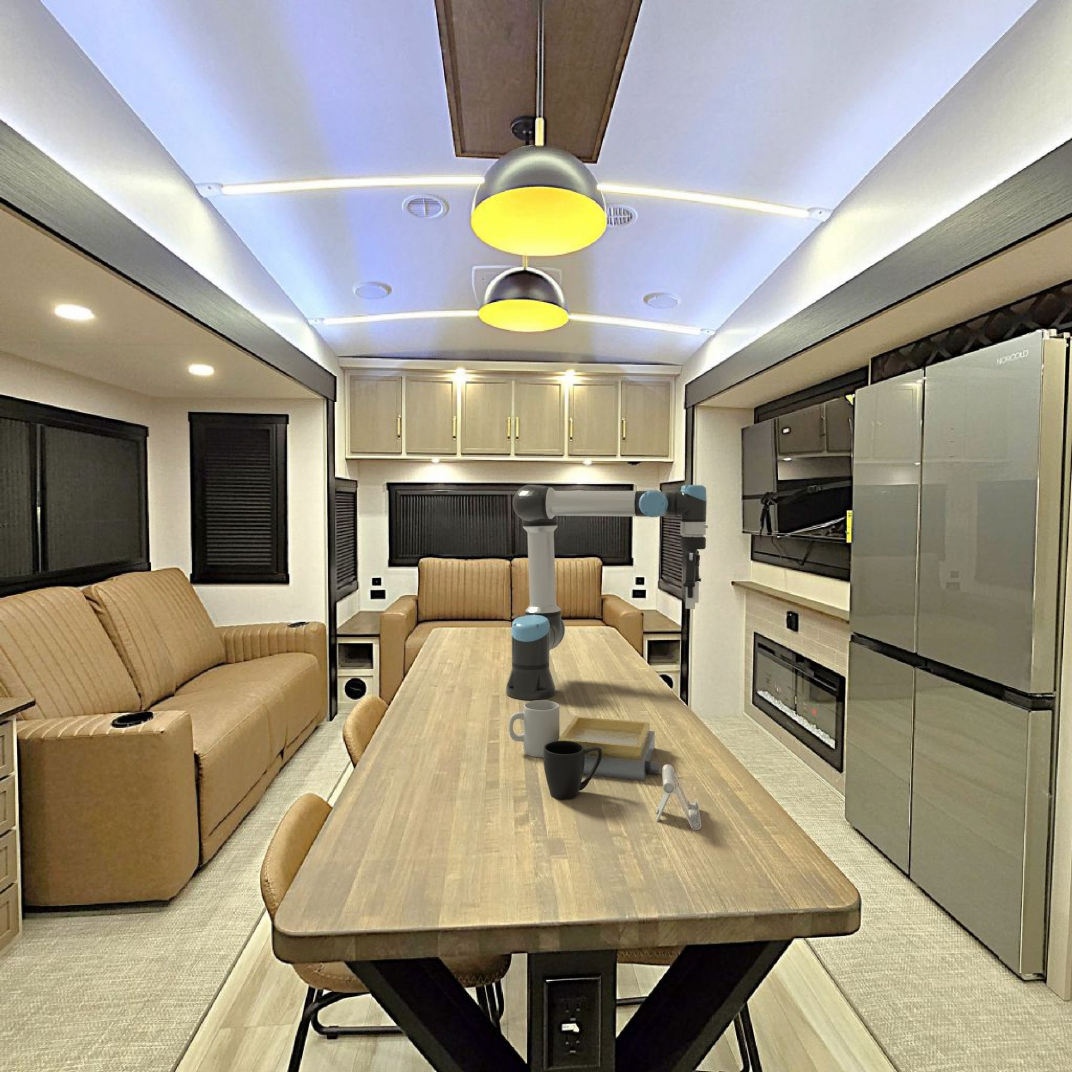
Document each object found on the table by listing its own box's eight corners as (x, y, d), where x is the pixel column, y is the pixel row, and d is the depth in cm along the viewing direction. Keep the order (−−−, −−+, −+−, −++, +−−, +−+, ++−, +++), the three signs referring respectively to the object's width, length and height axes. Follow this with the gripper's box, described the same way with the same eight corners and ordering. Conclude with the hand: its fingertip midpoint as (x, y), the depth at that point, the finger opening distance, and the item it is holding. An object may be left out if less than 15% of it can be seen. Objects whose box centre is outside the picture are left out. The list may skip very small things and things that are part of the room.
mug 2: (607, 799, 131) (608, 751, 130) (548, 804, 129) (548, 756, 128) (596, 782, 139) (596, 737, 138) (539, 787, 137) (539, 741, 136)
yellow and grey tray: (552, 770, 145) (552, 741, 145) (572, 739, 164) (572, 714, 164) (657, 782, 139) (657, 751, 139) (666, 749, 158) (666, 722, 158)
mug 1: (556, 743, 162) (556, 699, 161) (562, 756, 153) (562, 709, 153) (507, 746, 160) (507, 701, 160) (510, 759, 152) (510, 712, 151)
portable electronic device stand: (701, 831, 118) (701, 784, 118) (656, 827, 120) (656, 781, 119) (698, 809, 127) (698, 766, 126) (656, 806, 128) (656, 763, 128)
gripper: (703, 537, 189) (701, 612, 190) (708, 534, 213) (707, 600, 214) (676, 537, 191) (675, 610, 192) (684, 534, 215) (683, 599, 216)
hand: (692, 605), depth 203 cm, fingers open, 13 cm apart
